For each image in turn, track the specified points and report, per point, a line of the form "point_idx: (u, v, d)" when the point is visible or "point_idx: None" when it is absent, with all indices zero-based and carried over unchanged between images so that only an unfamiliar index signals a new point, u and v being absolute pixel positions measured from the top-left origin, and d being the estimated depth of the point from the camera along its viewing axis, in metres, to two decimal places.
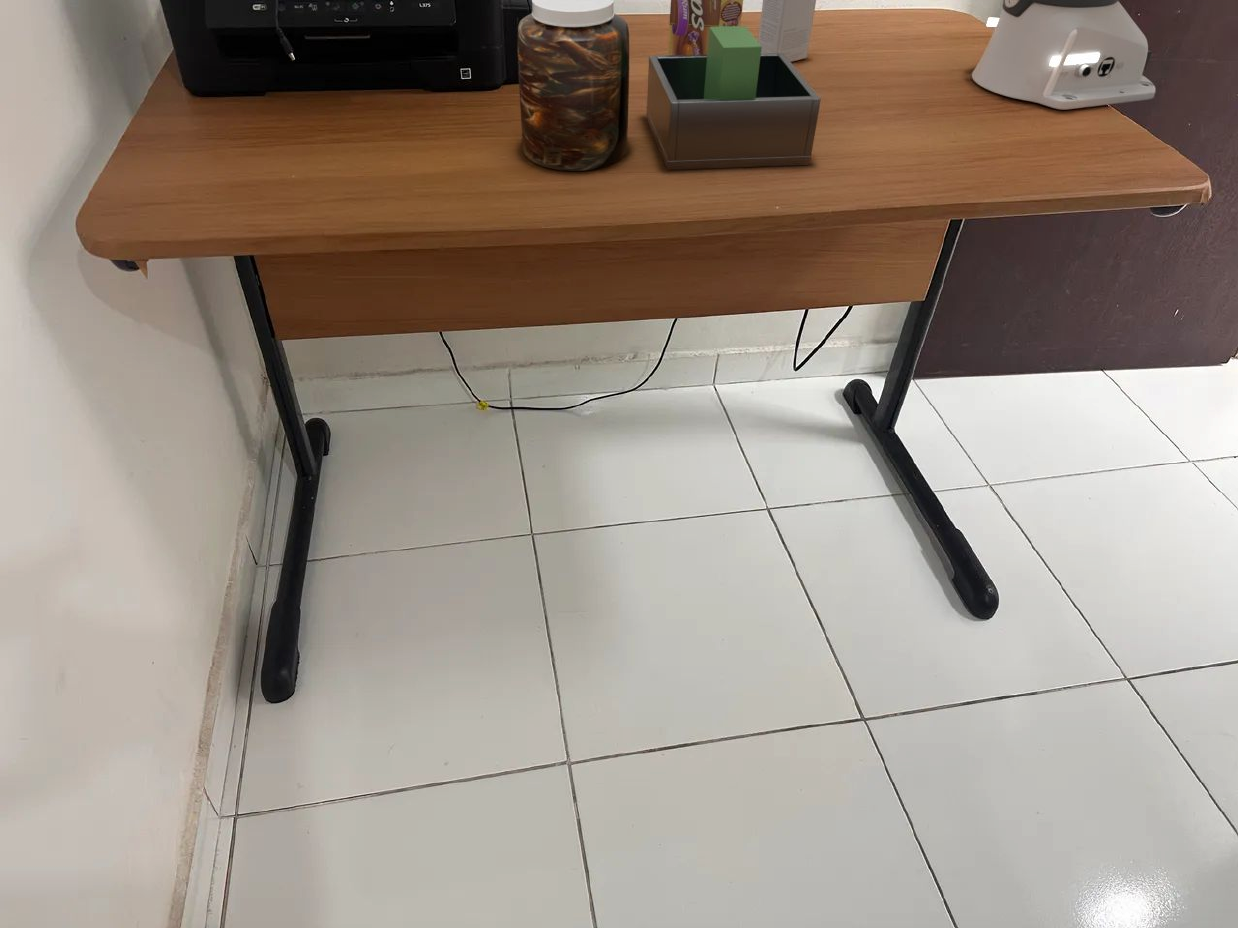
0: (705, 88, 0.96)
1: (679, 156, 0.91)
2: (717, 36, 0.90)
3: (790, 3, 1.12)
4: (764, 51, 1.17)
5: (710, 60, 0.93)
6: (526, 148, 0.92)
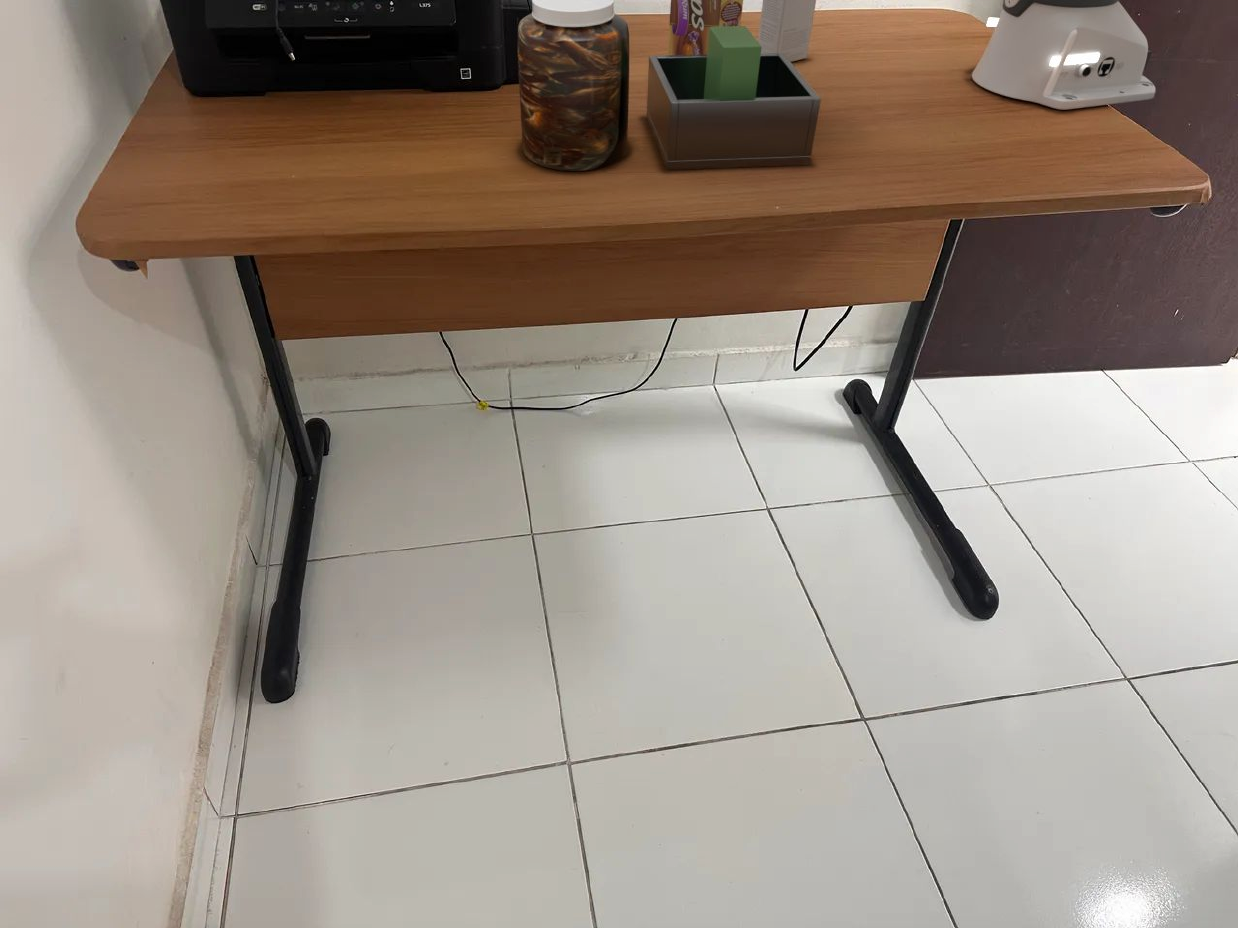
0: (705, 88, 0.96)
1: (679, 156, 0.91)
2: (717, 36, 0.90)
3: (790, 3, 1.12)
4: (764, 51, 1.17)
5: (710, 60, 0.93)
6: (526, 148, 0.92)
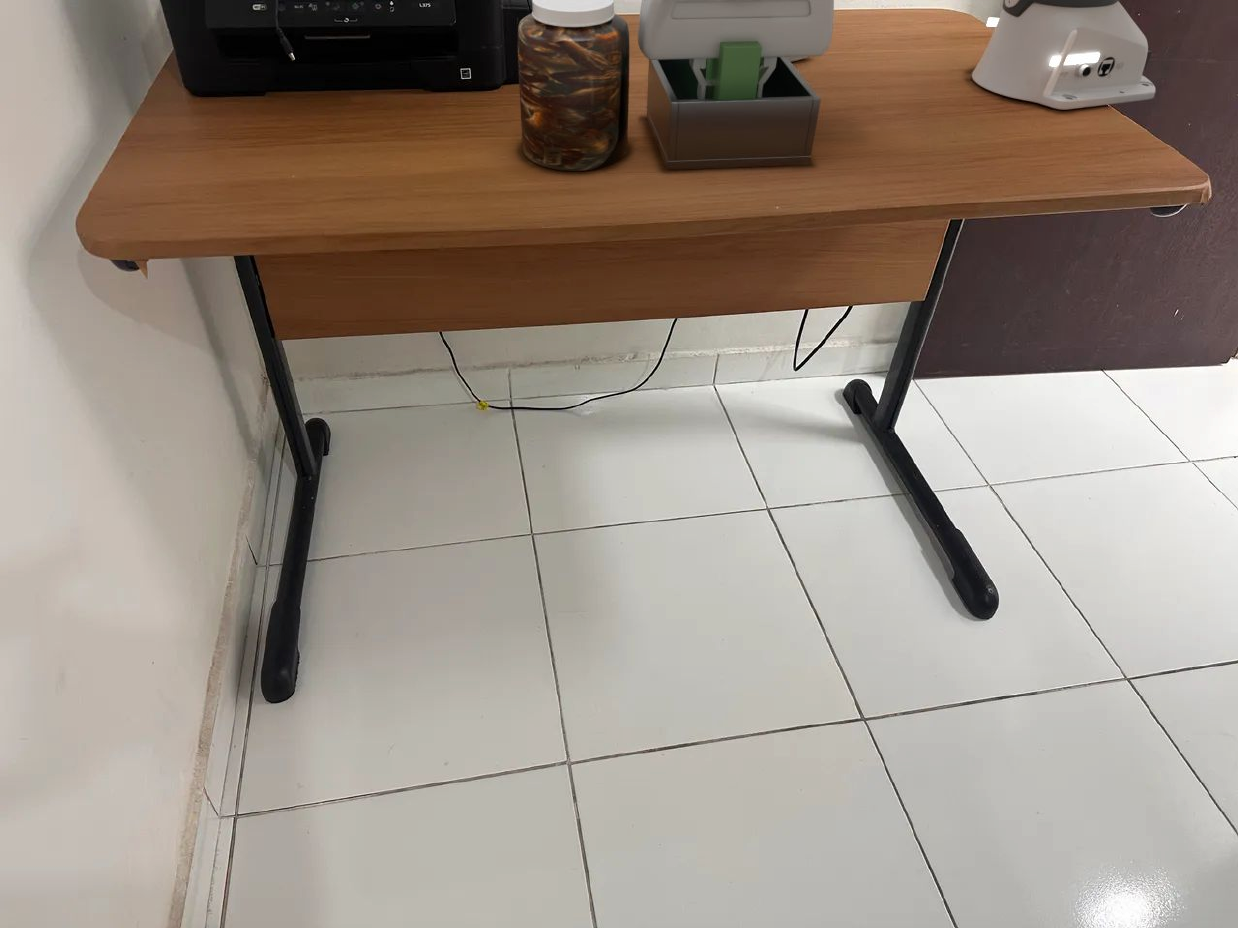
0: None
1: (679, 156, 0.91)
2: None
3: None
4: None
5: (710, 60, 0.93)
6: (526, 148, 0.92)
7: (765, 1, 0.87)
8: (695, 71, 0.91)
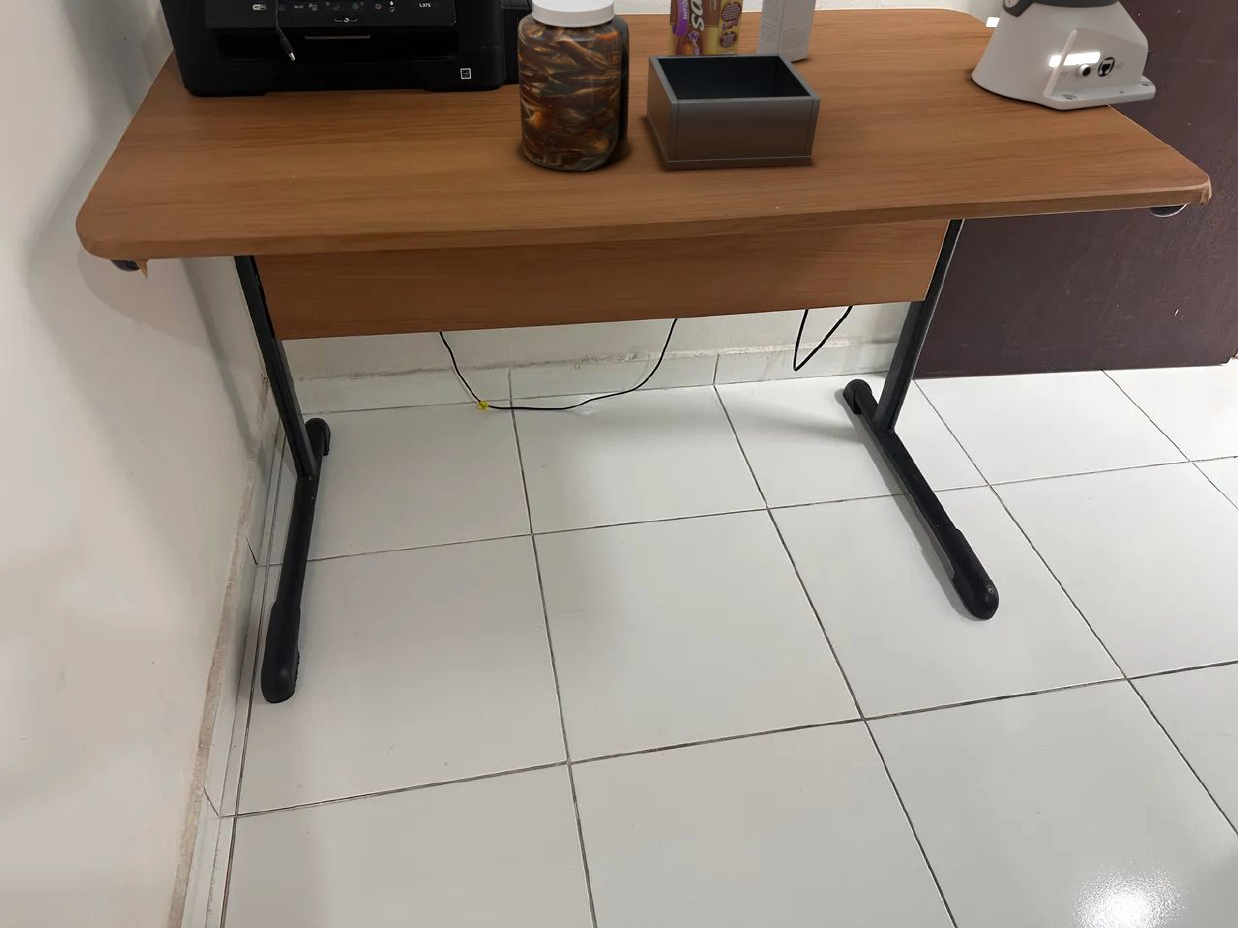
0: None
1: (679, 156, 0.91)
2: None
3: (790, 3, 1.12)
4: (764, 51, 1.17)
5: None
6: (526, 148, 0.92)
7: None
8: None
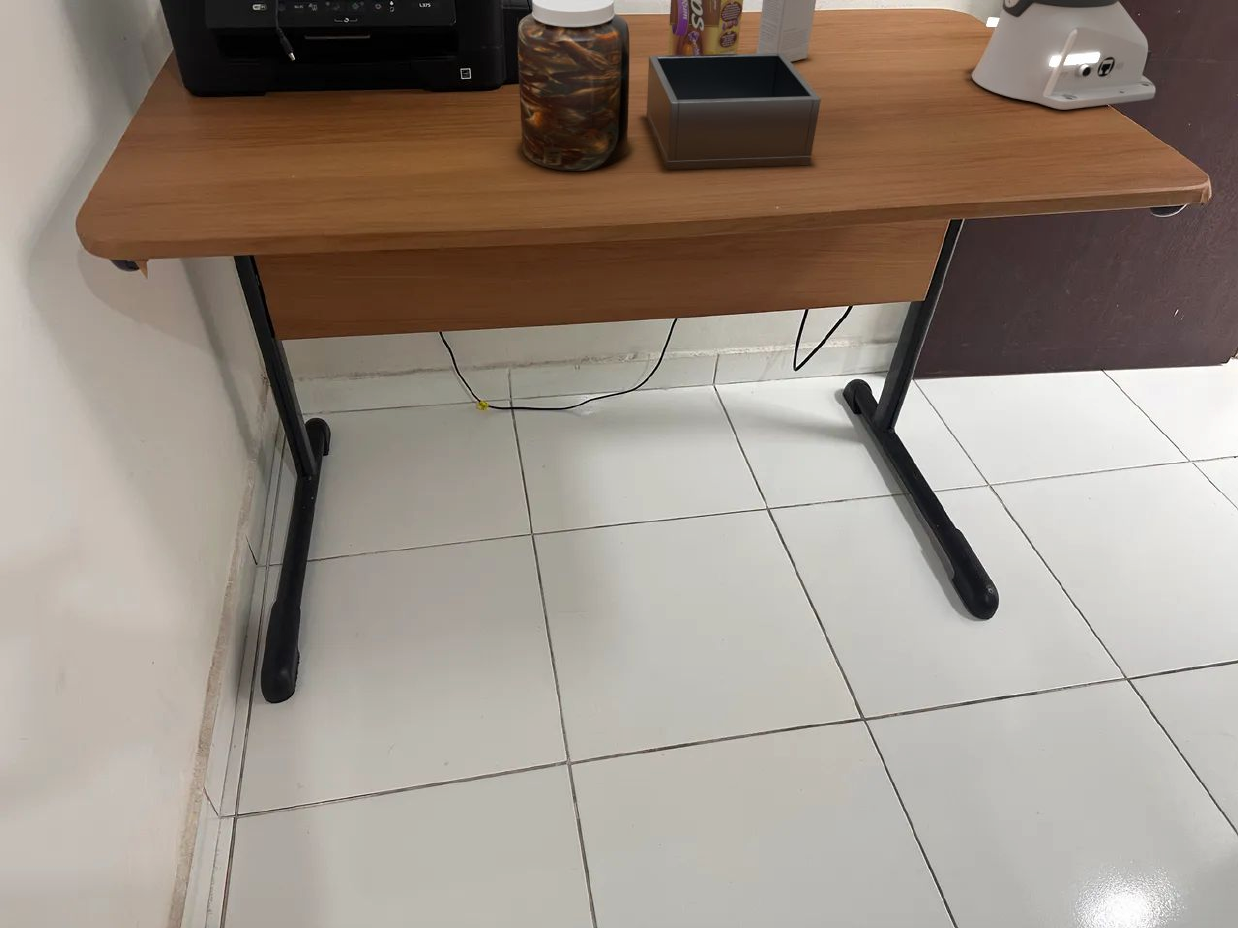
0: None
1: (679, 156, 0.91)
2: None
3: (790, 3, 1.12)
4: (764, 51, 1.17)
5: None
6: (526, 148, 0.92)
7: None
8: None
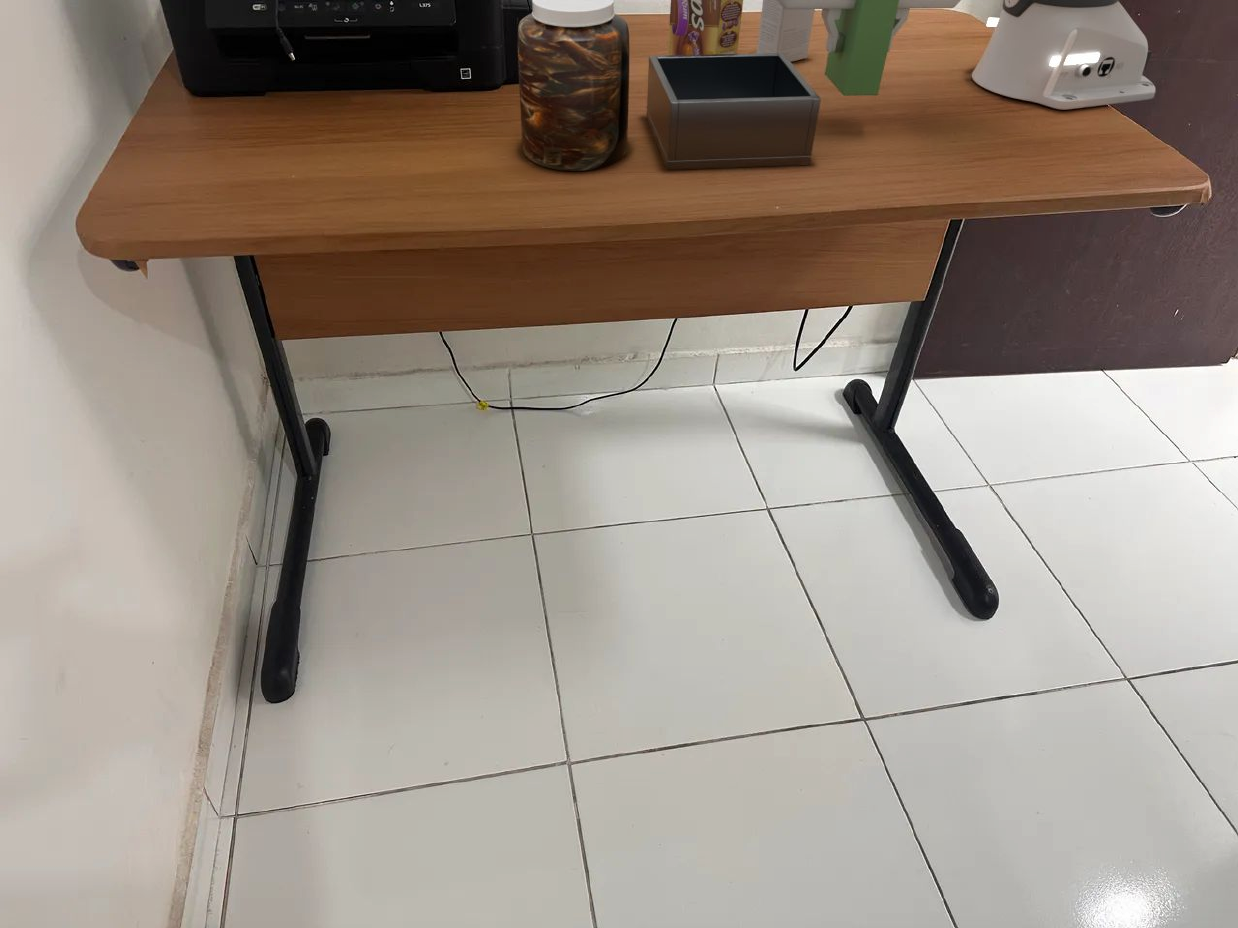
0: None
1: (679, 156, 0.91)
2: None
3: None
4: (764, 51, 1.17)
5: (841, 12, 0.94)
6: (526, 148, 0.92)
7: None
8: (829, 22, 0.92)
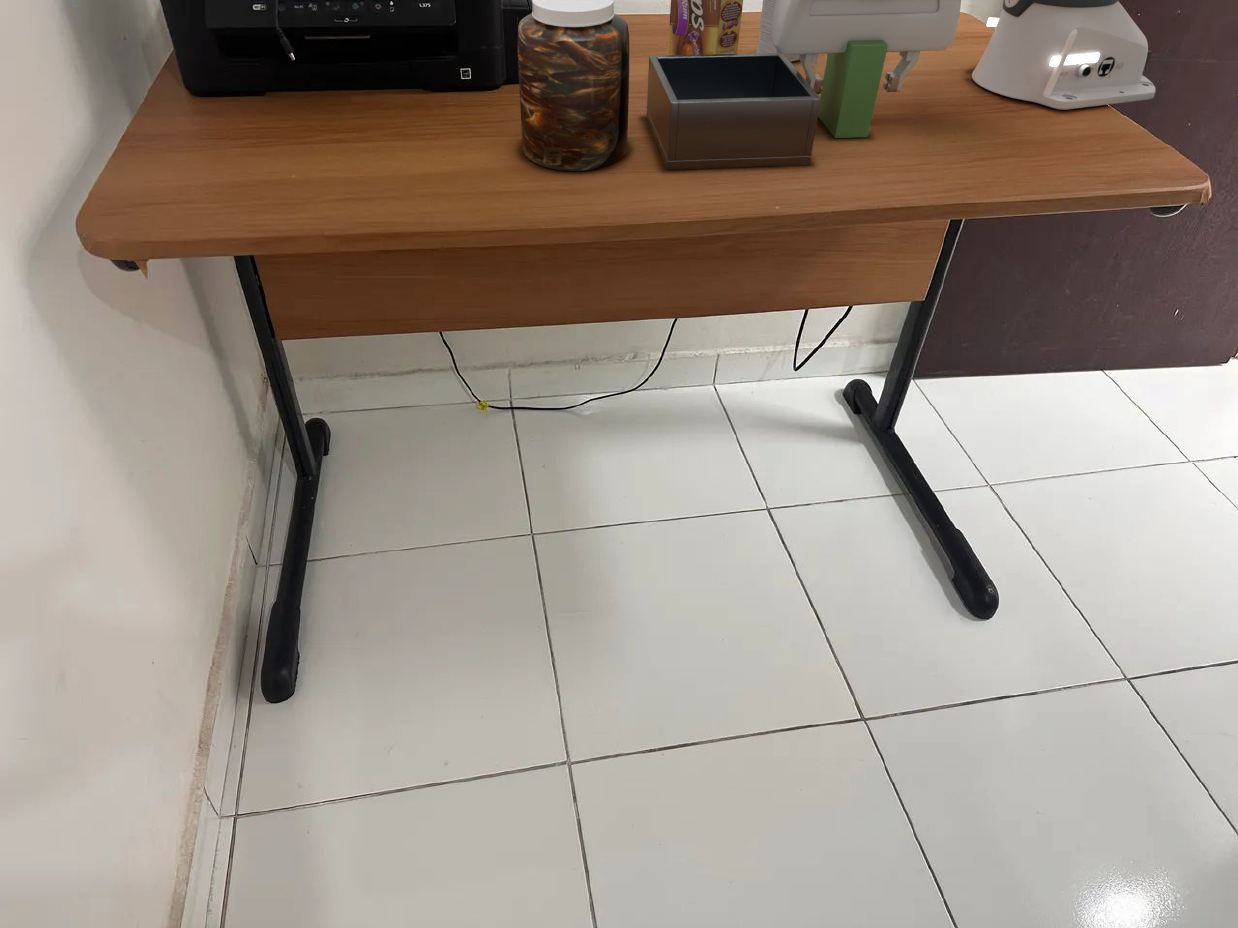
0: (824, 84, 1.01)
1: (679, 156, 0.91)
2: None
3: None
4: (764, 51, 1.17)
5: (832, 57, 0.98)
6: (526, 148, 0.92)
7: None
8: (806, 66, 0.95)
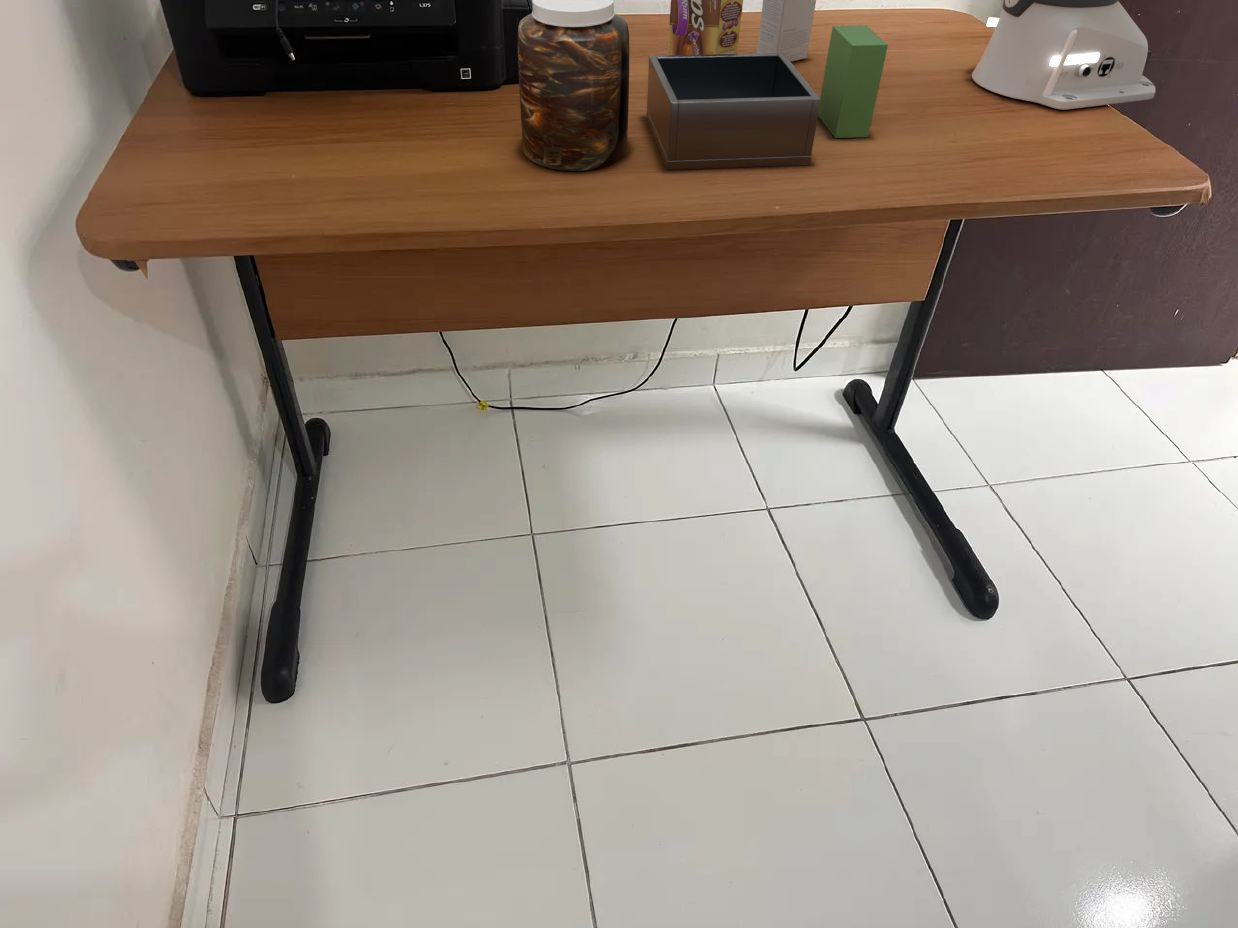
0: (824, 84, 1.01)
1: (679, 156, 0.91)
2: (843, 35, 0.95)
3: (790, 3, 1.12)
4: (764, 51, 1.17)
5: (832, 57, 0.98)
6: (526, 148, 0.92)
7: None
8: None
